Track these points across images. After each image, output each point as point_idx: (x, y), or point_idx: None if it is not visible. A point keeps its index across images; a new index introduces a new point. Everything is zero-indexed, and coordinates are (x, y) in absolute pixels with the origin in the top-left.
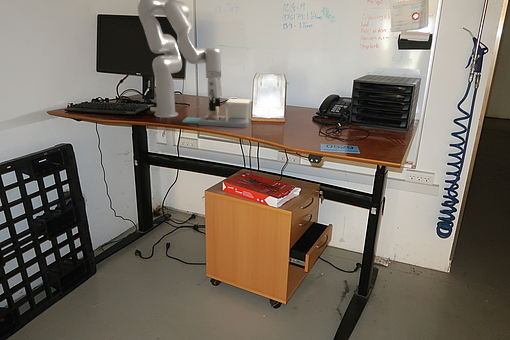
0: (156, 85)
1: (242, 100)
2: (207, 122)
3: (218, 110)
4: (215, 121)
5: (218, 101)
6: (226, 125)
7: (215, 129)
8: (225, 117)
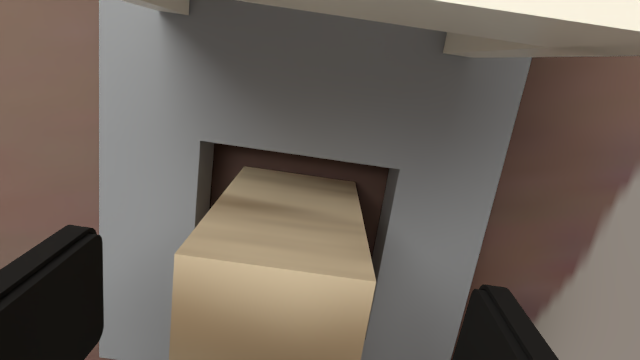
0: None
1: None
2: (461, 299)
3: (236, 227)
4: (459, 208)
5: (13, 328)
6: None
7: (619, 175)
8: (188, 84)
